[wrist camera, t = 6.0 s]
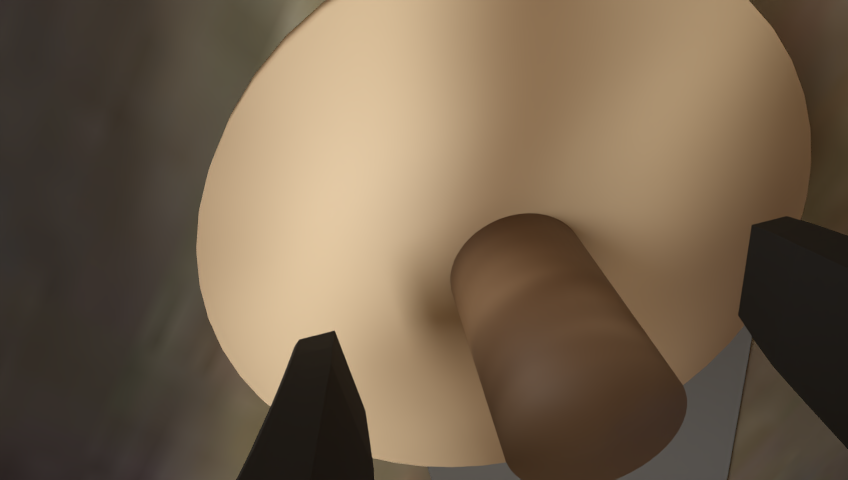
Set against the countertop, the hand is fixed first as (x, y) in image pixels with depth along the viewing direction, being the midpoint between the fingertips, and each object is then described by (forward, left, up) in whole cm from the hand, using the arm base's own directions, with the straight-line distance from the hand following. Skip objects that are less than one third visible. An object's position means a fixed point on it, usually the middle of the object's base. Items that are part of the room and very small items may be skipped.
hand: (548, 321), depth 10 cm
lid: (0, 0, -3) cm, 3 cm away
